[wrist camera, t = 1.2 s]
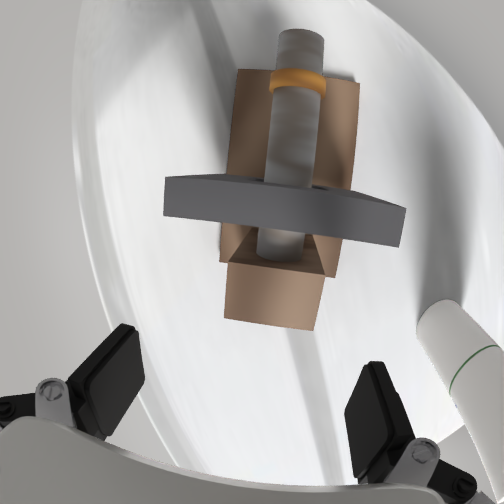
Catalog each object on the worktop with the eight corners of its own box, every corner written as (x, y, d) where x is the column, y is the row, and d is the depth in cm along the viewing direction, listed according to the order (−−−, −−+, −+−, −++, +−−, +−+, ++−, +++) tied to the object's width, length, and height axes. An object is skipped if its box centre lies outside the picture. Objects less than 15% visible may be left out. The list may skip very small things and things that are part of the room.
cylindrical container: (428, 356, 30) (499, 506, 6) (407, 325, 29) (495, 499, 6) (466, 323, 28) (563, 452, 4) (450, 288, 27) (575, 428, 4)
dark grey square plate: (354, 191, 23) (406, 208, 12) (351, 212, 24) (398, 247, 13) (221, 174, 25) (165, 176, 13) (220, 195, 25) (163, 215, 14)
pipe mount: (357, 86, 23) (395, 38, 12) (333, 273, 29) (355, 335, 17) (240, 72, 24) (208, 17, 13) (222, 258, 30) (181, 309, 19)
